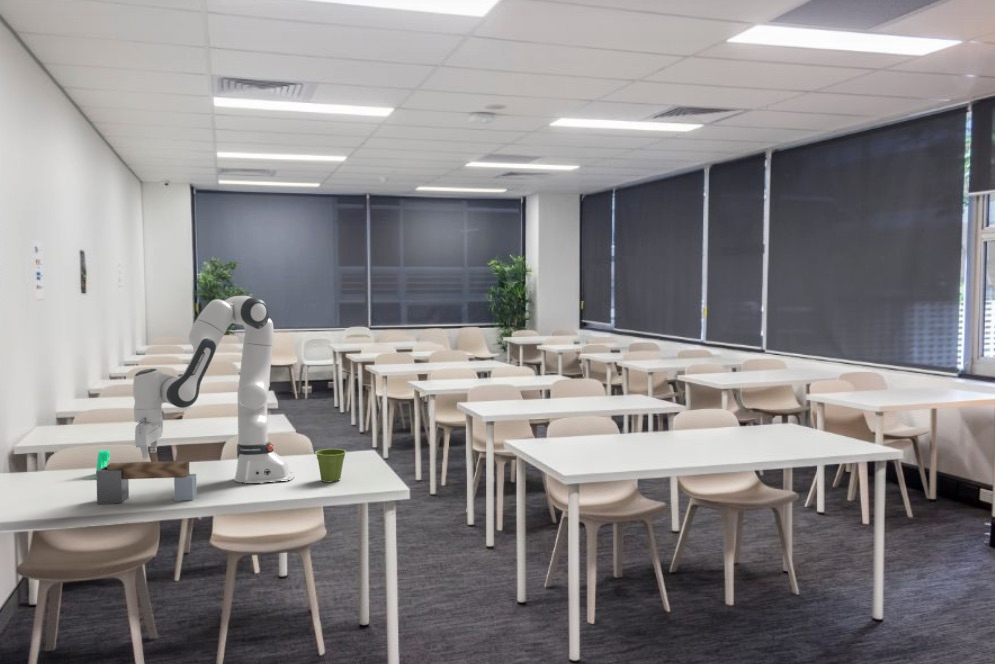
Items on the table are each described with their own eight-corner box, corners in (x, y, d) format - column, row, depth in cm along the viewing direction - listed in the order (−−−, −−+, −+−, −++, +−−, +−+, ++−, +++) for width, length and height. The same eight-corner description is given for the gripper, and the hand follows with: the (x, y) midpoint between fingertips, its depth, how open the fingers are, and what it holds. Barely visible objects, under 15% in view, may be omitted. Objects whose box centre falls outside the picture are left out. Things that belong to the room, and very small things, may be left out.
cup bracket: (128, 498, 275) (128, 465, 274) (121, 503, 267) (121, 470, 267) (104, 498, 274) (103, 466, 273) (97, 504, 266) (96, 471, 266)
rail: (189, 474, 276) (189, 460, 276) (186, 477, 272) (186, 463, 272) (111, 477, 272) (110, 463, 272) (107, 479, 268) (107, 465, 268)
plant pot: (317, 485, 294) (317, 455, 293) (313, 478, 305) (313, 450, 304) (349, 482, 298) (349, 453, 298) (343, 476, 309) (343, 447, 309)
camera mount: (117, 478, 305) (117, 452, 304) (96, 479, 303) (95, 453, 302) (124, 472, 316) (123, 446, 316) (103, 473, 314) (102, 447, 314)
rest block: (196, 496, 278) (196, 473, 277) (192, 500, 272) (192, 477, 271) (178, 496, 277) (178, 474, 276) (174, 501, 271) (174, 478, 270)
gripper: (149, 420, 261) (150, 461, 262) (165, 411, 282) (166, 449, 282) (129, 421, 260) (130, 462, 261) (147, 411, 281) (148, 449, 281)
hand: (149, 455), depth 272 cm, fingers open, 8 cm apart
